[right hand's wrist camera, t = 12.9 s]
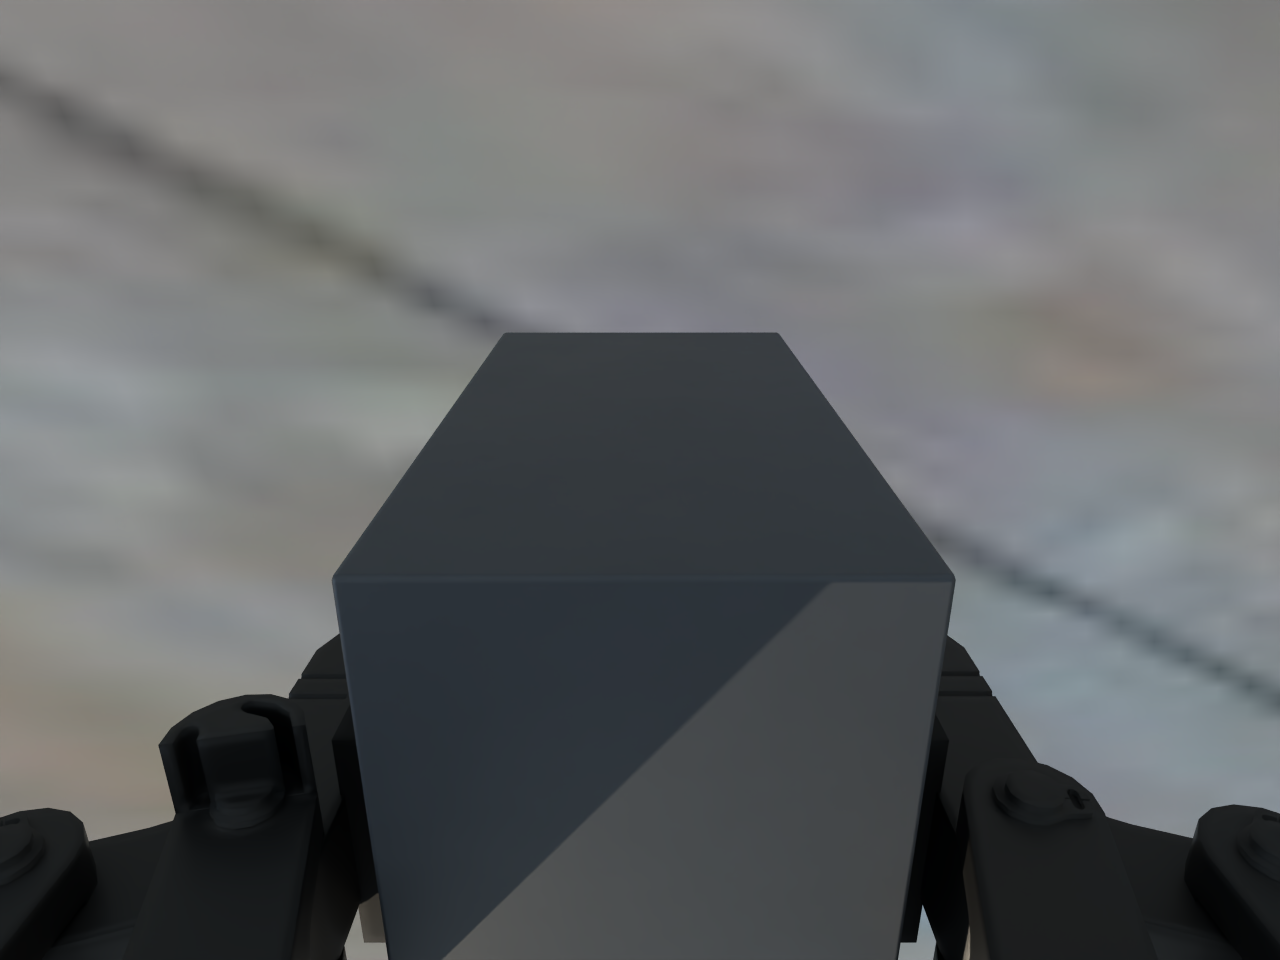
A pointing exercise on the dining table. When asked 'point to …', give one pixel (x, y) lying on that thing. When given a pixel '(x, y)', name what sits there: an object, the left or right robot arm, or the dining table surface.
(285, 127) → the dining table surface
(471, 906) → the bar
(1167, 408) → the dining table surface
